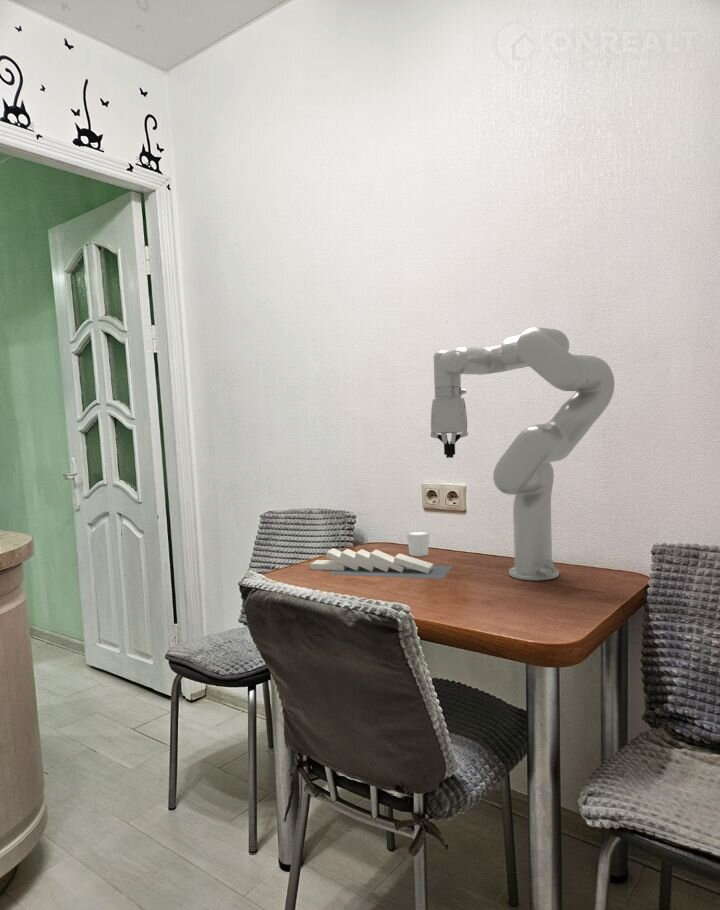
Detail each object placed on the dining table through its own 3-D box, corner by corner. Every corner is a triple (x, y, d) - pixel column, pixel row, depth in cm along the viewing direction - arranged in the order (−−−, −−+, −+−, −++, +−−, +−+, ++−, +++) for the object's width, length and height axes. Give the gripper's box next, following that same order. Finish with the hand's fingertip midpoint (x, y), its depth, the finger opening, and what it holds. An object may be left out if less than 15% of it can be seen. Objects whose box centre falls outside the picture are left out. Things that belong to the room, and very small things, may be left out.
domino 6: (433, 563, 179) (399, 553, 182) (429, 568, 174) (394, 557, 177) (432, 569, 179) (397, 558, 182) (427, 573, 174) (393, 562, 177)
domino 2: (364, 561, 185) (333, 548, 188) (358, 565, 180) (326, 551, 183) (362, 566, 185) (331, 553, 188) (356, 570, 181) (325, 556, 183)
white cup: (403, 555, 201) (402, 532, 200) (422, 552, 204) (422, 530, 203) (414, 559, 194) (413, 535, 194) (434, 556, 197) (433, 533, 197)
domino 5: (408, 563, 181) (375, 549, 184) (403, 567, 176) (370, 552, 179) (406, 568, 181) (374, 554, 184) (401, 572, 176) (368, 558, 179)
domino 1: (349, 560, 187) (316, 559, 190) (343, 564, 182) (310, 563, 185) (349, 566, 187) (317, 565, 190) (343, 570, 182) (310, 569, 185)
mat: (452, 567, 182) (452, 566, 182) (443, 580, 168) (442, 578, 168) (345, 563, 192) (345, 562, 192) (328, 575, 179) (328, 574, 179)
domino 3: (378, 562, 184) (347, 548, 186) (373, 566, 179) (341, 552, 182) (377, 567, 184) (345, 553, 187) (371, 571, 179) (339, 557, 182)
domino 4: (393, 562, 182) (361, 549, 185) (388, 566, 178) (356, 552, 180) (391, 567, 183) (359, 554, 185) (386, 572, 178) (354, 557, 181)
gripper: (475, 392, 188) (477, 456, 189) (424, 395, 192) (426, 457, 193) (472, 392, 181) (474, 457, 182) (419, 394, 185) (422, 459, 186)
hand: (449, 457), depth 188 cm, fingers closed
